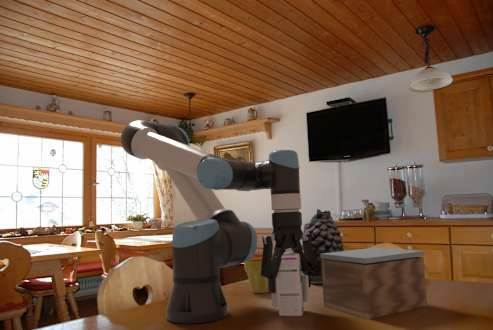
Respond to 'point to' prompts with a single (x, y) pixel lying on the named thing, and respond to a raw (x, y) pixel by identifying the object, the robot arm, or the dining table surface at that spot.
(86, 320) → the dining table surface
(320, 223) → the dark pine cone
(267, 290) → the plant pot
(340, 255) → the crate lid
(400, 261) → the walnut crate
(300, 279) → the syrup box
